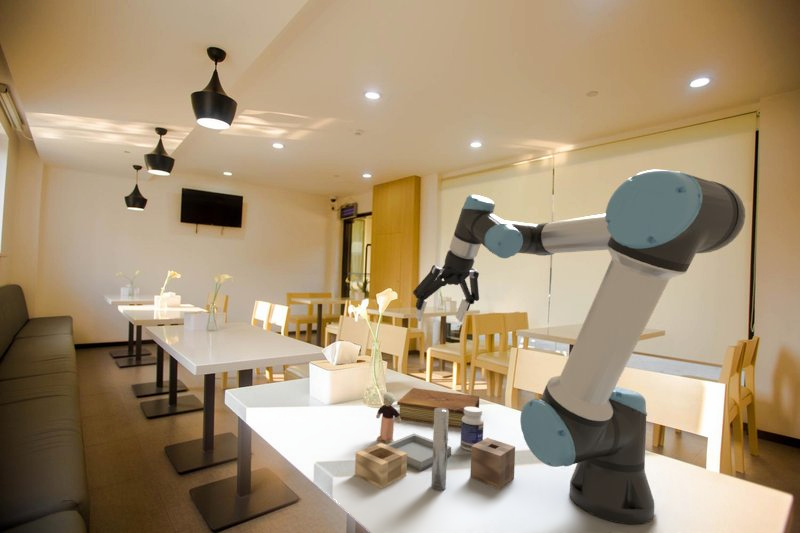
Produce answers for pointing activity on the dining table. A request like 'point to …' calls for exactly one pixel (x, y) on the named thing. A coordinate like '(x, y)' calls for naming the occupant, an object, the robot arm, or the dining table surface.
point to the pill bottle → (471, 427)
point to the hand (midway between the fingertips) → (438, 319)
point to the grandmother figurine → (387, 418)
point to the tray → (417, 450)
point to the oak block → (381, 465)
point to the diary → (435, 405)
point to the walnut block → (492, 462)
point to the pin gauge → (440, 449)
